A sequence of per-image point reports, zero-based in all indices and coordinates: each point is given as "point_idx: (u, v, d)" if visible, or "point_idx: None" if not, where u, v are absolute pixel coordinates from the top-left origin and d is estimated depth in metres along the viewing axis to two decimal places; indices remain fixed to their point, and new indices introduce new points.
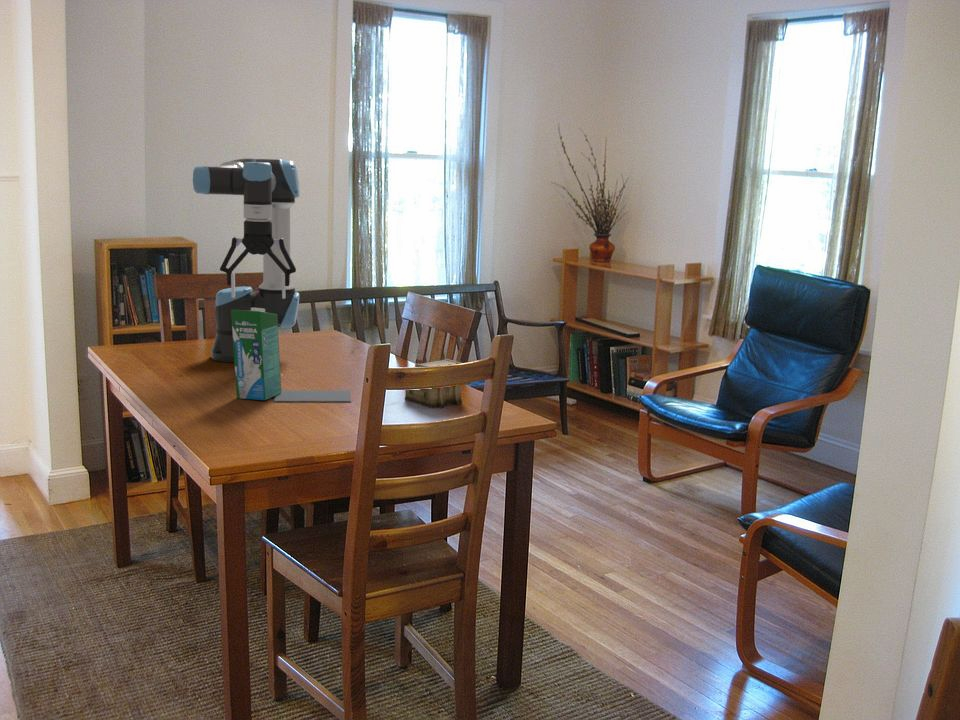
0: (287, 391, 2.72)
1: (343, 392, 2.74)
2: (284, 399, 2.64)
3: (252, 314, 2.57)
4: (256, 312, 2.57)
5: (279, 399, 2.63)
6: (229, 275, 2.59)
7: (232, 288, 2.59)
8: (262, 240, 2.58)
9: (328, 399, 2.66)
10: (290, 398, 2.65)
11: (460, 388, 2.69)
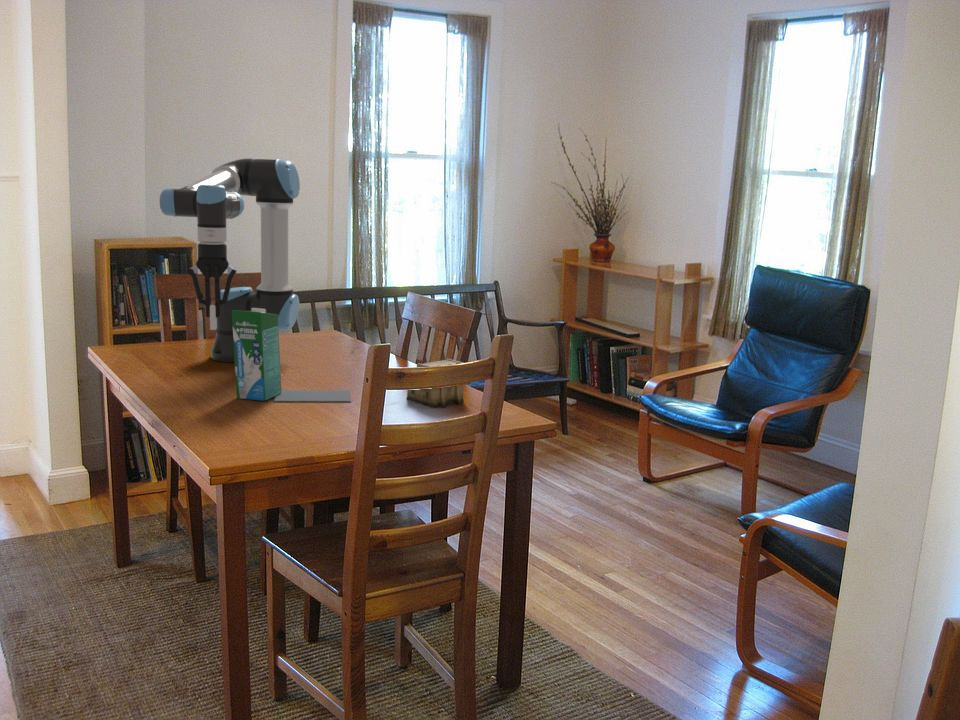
0: (287, 391, 2.72)
1: (343, 392, 2.74)
2: (284, 399, 2.64)
3: (253, 315, 2.57)
4: (257, 313, 2.56)
5: (279, 399, 2.63)
6: (208, 307, 2.59)
7: (211, 320, 2.59)
8: (219, 259, 2.56)
9: (328, 399, 2.66)
10: (290, 398, 2.65)
11: (462, 388, 2.70)
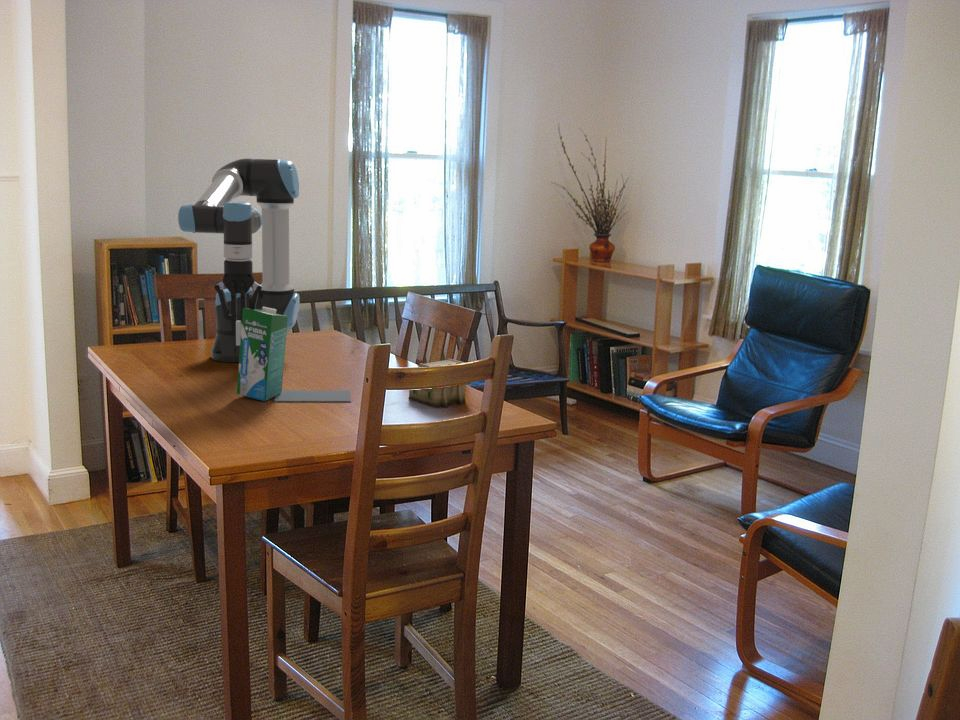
0: (287, 391, 2.72)
1: (343, 392, 2.74)
2: (284, 399, 2.64)
3: (264, 316, 2.55)
4: (268, 315, 2.55)
5: (279, 399, 2.63)
6: (234, 323, 2.61)
7: (237, 336, 2.61)
8: (245, 275, 2.58)
9: (328, 399, 2.66)
10: (290, 398, 2.65)
11: (464, 388, 2.70)
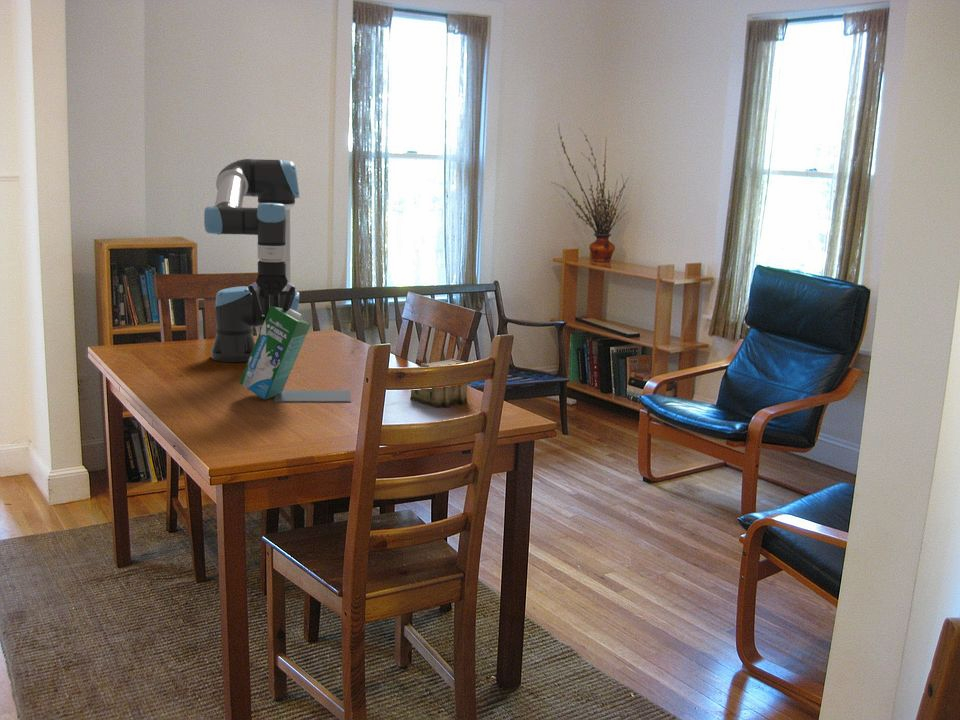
0: (287, 391, 2.72)
1: (343, 392, 2.74)
2: (284, 399, 2.64)
3: (289, 321, 2.55)
4: (294, 321, 2.54)
5: (279, 399, 2.63)
6: None
7: None
8: (278, 276, 2.60)
9: (328, 399, 2.66)
10: (290, 398, 2.65)
11: (465, 387, 2.70)
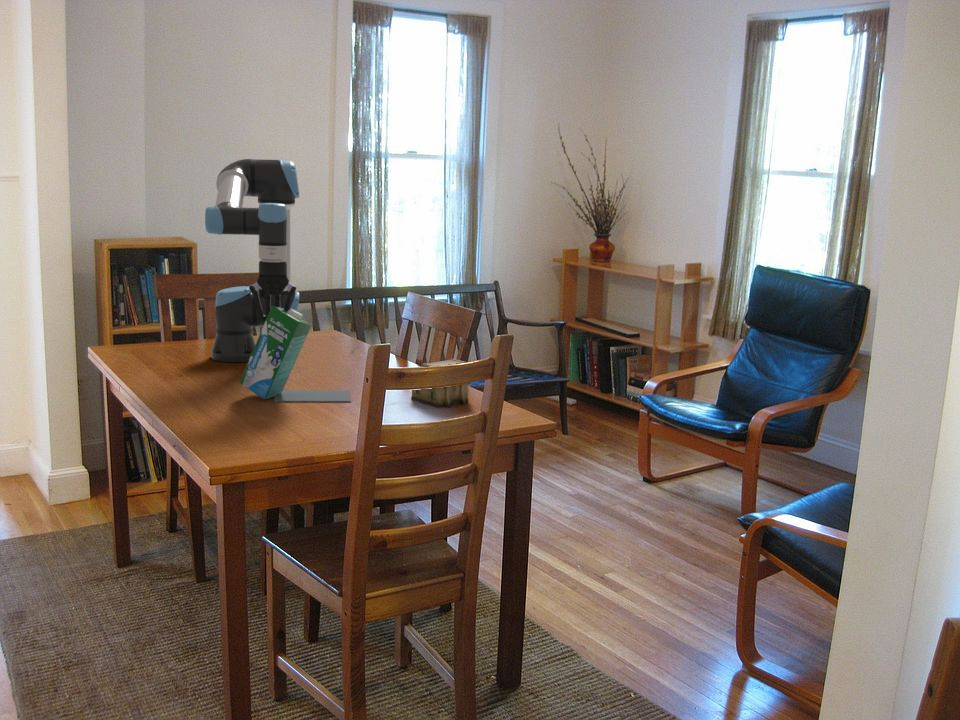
0: (287, 391, 2.72)
1: (343, 392, 2.74)
2: (284, 399, 2.64)
3: (290, 321, 2.55)
4: (295, 321, 2.54)
5: (279, 399, 2.63)
6: None
7: None
8: (279, 276, 2.60)
9: (328, 399, 2.66)
10: (290, 398, 2.65)
11: (466, 387, 2.70)
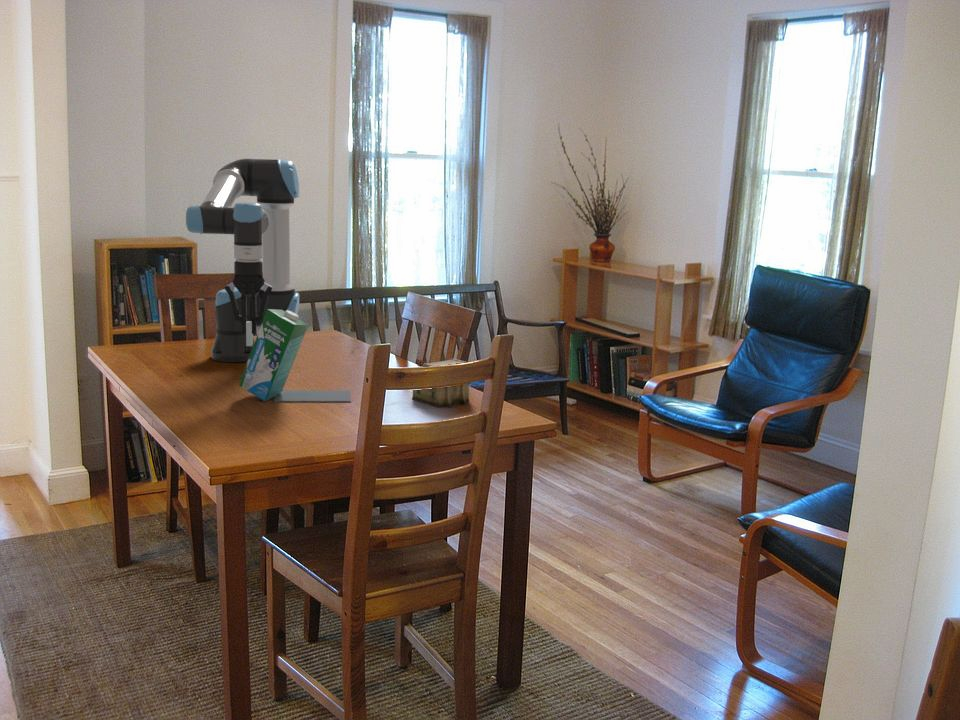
0: (287, 391, 2.72)
1: (343, 392, 2.74)
2: (284, 399, 2.64)
3: (286, 324, 2.53)
4: (291, 324, 2.53)
5: (279, 399, 2.63)
6: (244, 324, 2.62)
7: (247, 336, 2.62)
8: (255, 276, 2.59)
9: (328, 399, 2.66)
10: (290, 398, 2.65)
11: (467, 387, 2.70)
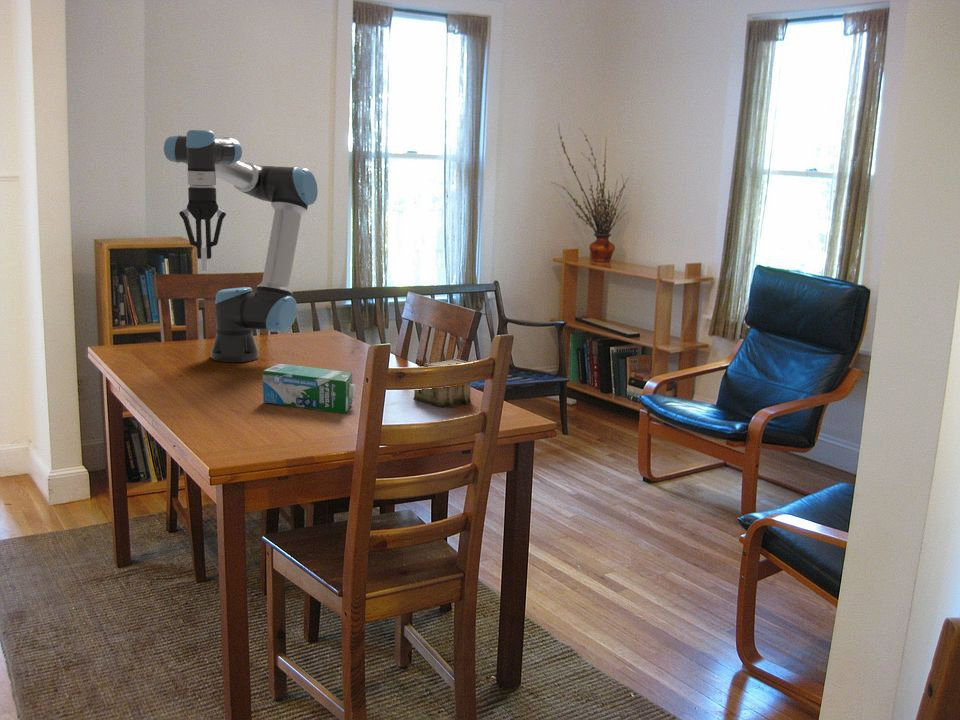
0: None
1: None
2: None
3: (341, 405, 2.53)
4: (344, 410, 2.53)
5: None
6: (199, 249, 2.69)
7: (202, 261, 2.70)
8: (209, 202, 2.66)
9: None
10: None
11: (469, 387, 2.70)
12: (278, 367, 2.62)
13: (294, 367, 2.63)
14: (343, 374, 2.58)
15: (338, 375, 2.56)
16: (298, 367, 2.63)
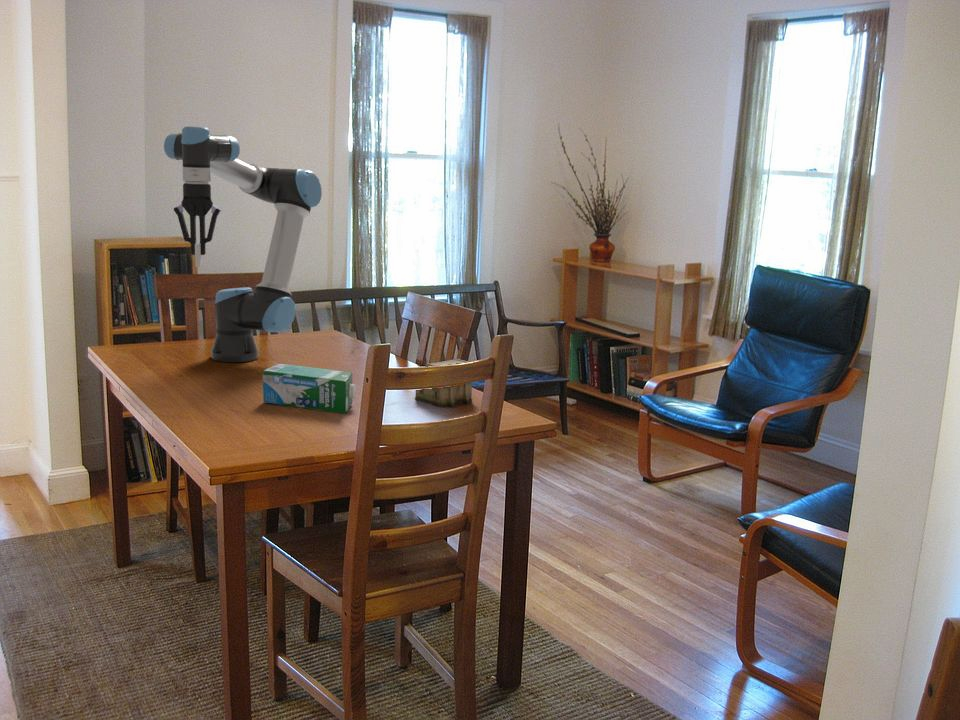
0: None
1: None
2: None
3: (341, 405, 2.53)
4: (344, 410, 2.53)
5: None
6: (193, 245, 2.70)
7: (196, 257, 2.71)
8: (203, 198, 2.68)
9: None
10: None
11: (470, 387, 2.70)
12: (278, 367, 2.62)
13: (294, 367, 2.63)
14: (343, 374, 2.58)
15: (338, 375, 2.56)
16: (298, 367, 2.63)
